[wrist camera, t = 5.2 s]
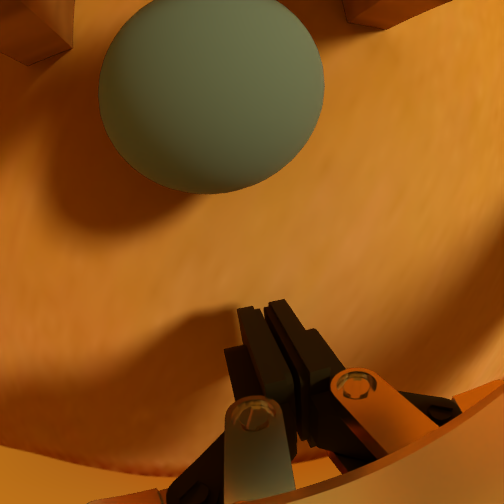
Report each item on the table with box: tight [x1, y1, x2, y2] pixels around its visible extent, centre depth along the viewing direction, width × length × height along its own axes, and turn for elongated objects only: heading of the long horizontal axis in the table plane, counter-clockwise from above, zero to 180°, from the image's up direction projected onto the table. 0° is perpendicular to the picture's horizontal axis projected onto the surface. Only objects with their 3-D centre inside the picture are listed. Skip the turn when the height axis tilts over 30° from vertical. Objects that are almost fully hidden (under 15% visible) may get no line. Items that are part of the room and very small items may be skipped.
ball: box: [98, 0, 325, 194], centre depth 7 cm, size 6×6×6 cm
